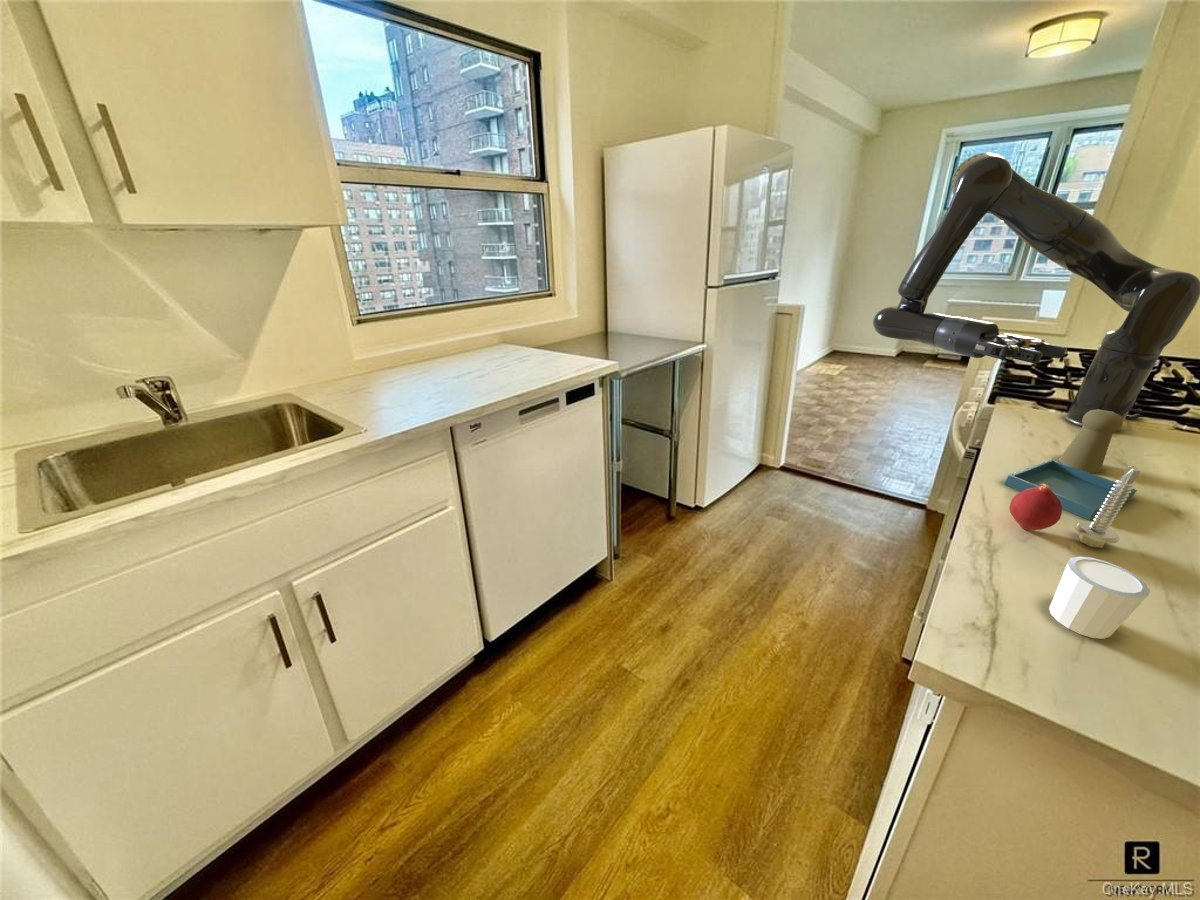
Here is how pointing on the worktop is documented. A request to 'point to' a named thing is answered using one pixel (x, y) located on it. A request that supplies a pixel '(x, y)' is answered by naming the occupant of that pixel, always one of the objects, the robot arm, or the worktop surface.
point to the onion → (1036, 508)
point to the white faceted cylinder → (1096, 597)
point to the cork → (1092, 441)
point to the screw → (1107, 513)
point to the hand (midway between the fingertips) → (1052, 355)
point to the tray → (1067, 486)
